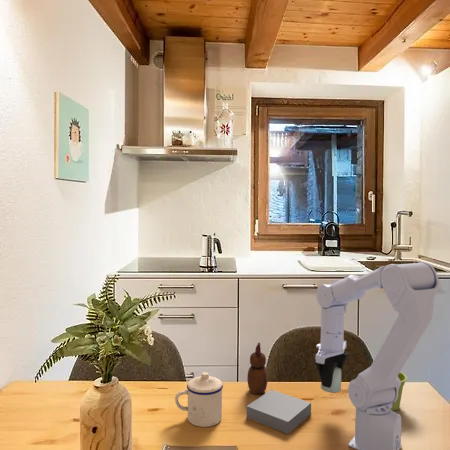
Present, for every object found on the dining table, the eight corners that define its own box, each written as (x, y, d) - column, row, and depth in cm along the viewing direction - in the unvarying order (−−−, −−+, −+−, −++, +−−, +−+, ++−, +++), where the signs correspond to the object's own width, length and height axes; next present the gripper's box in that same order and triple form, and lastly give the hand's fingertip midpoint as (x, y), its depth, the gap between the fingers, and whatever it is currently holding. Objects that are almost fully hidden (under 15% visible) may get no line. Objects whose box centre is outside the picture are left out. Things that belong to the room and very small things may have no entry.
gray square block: (310, 414, 107) (311, 402, 107) (287, 434, 98) (288, 421, 98) (271, 400, 115) (271, 389, 114) (246, 417, 105) (246, 406, 105)
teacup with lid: (221, 408, 109) (221, 365, 109) (224, 427, 100) (224, 380, 100) (175, 410, 108) (175, 367, 108) (174, 429, 99) (174, 382, 99)
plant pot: (369, 411, 109) (370, 379, 108) (368, 395, 118) (368, 366, 117) (407, 417, 106) (408, 384, 105) (403, 400, 115) (404, 370, 114)
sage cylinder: (344, 387, 107) (344, 368, 107) (336, 394, 103) (336, 375, 103) (326, 382, 110) (326, 364, 110) (317, 388, 106) (318, 369, 106)
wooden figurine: (266, 397, 116) (266, 345, 115) (245, 395, 117) (246, 343, 116) (268, 387, 123) (269, 337, 122) (249, 385, 124) (249, 336, 123)
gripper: (329, 321, 114) (328, 369, 115) (304, 334, 103) (303, 387, 103) (354, 326, 110) (353, 376, 110) (331, 340, 98) (330, 396, 99)
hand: (331, 382), depth 106 cm, fingers closed on sage cylinder, 5 cm apart
